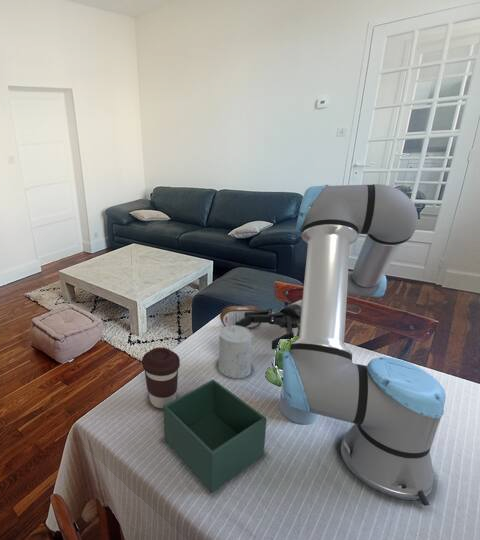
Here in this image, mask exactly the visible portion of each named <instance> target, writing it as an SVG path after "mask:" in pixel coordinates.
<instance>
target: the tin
mask: <svg viewBox="0 0 480 540" xmlns="http://www.w3.org/2000/svg"><path fill="white" fill-rule="evenodd" d="M251 311H261V309H260V308H259V307H258V306H256V305H231V306H226V307H225V308H223V309H222V310H221V312H220V314H219V319H220V321H221V323H222V325H223V327H225V326H230V325H236V322H238V321H240V320H241V319H243V318H244V315H245V312H251ZM260 325H262V323H251V324H250V325H248V326H246V327H245V328H247V329H254V328H258V327H259V326H260Z"/></svg>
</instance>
